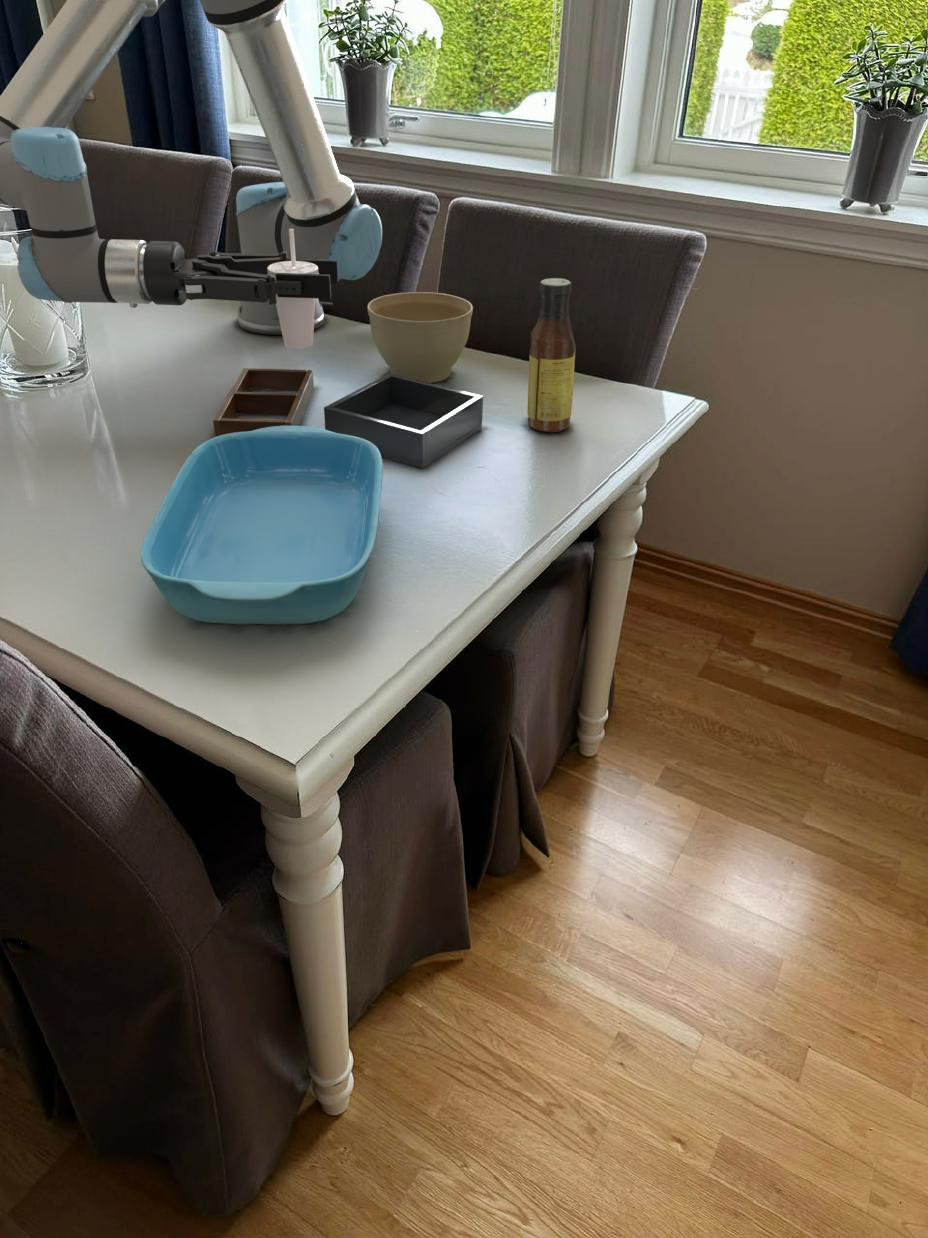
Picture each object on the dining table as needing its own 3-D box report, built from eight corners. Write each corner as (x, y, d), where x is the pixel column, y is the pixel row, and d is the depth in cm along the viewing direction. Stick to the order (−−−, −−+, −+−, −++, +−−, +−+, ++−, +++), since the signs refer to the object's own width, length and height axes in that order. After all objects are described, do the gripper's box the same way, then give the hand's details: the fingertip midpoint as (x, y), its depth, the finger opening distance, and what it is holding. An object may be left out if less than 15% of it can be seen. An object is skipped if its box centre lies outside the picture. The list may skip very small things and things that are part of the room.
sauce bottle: (578, 426, 129) (593, 282, 117) (551, 438, 125) (564, 291, 113) (543, 413, 132) (554, 272, 121) (515, 424, 128) (524, 280, 117)
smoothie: (328, 337, 120) (321, 225, 112) (316, 353, 115) (309, 237, 107) (281, 334, 121) (271, 222, 113) (267, 350, 116) (256, 234, 108)
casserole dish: (372, 656, 83) (369, 592, 79) (127, 655, 82) (112, 590, 78) (388, 478, 113) (387, 424, 109) (210, 476, 112) (202, 422, 108)
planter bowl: (477, 362, 149) (480, 294, 143) (460, 397, 136) (462, 325, 130) (383, 353, 151) (382, 287, 145) (357, 387, 138) (354, 316, 132)
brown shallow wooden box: (246, 387, 137) (243, 367, 136) (314, 388, 137) (312, 369, 136) (215, 441, 121) (212, 420, 119) (293, 443, 121) (291, 422, 119)
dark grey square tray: (390, 404, 133) (389, 373, 130) (482, 428, 127) (483, 395, 124) (325, 440, 122) (323, 407, 119) (422, 468, 116) (422, 433, 113)
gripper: (176, 282, 123) (344, 288, 123) (131, 326, 107) (325, 332, 107) (167, 224, 119) (342, 229, 119) (119, 260, 103) (321, 267, 103)
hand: (333, 278), depth 113 cm, fingers closed on smoothie, 6 cm apart
